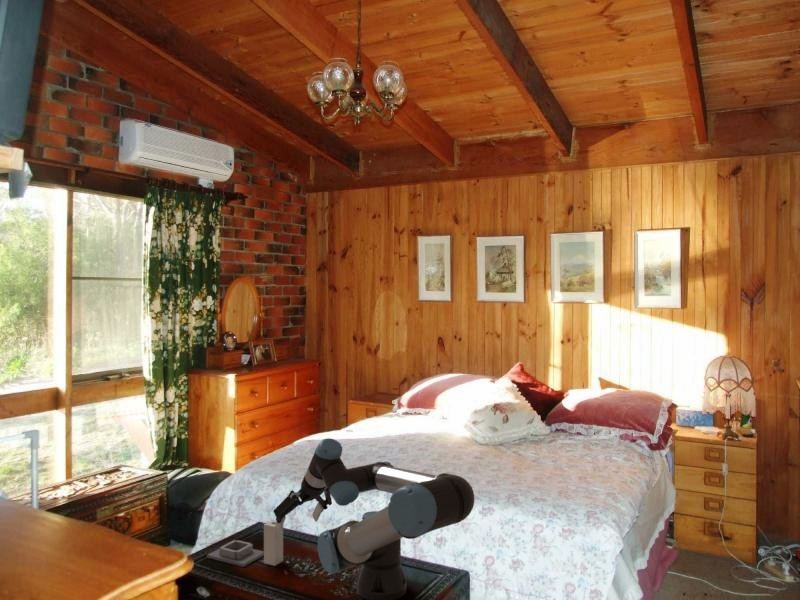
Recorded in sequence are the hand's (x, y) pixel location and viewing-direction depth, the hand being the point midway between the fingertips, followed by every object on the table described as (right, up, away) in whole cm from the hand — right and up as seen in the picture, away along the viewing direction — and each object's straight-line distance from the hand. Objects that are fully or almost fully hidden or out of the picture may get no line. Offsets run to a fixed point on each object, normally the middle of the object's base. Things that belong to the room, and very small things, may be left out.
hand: (296, 522), depth 209 cm
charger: (-8, -15, +5) cm, 18 cm away
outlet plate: (-22, -15, +10) cm, 28 cm away
